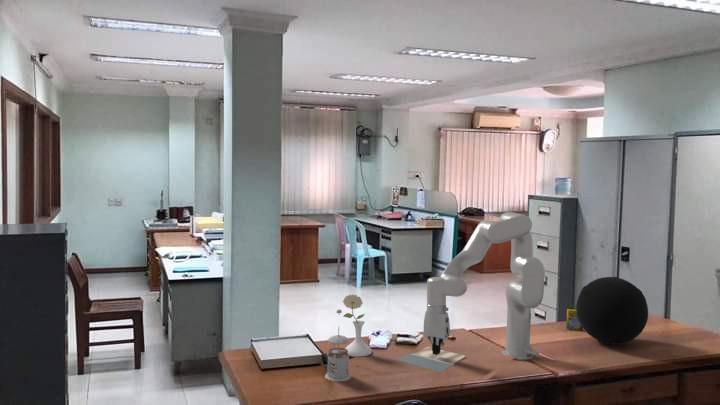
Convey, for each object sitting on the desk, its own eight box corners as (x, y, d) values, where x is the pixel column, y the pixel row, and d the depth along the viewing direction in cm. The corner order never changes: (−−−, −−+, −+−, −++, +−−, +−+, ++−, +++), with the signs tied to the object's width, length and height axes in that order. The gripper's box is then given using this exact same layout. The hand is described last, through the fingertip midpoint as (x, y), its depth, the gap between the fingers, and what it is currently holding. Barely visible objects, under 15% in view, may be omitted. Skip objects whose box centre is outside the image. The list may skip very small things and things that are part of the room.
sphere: (659, 354, 244) (663, 284, 242) (589, 353, 244) (592, 283, 242) (628, 334, 273) (631, 272, 271) (565, 333, 274) (568, 270, 272)
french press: (330, 383, 205) (331, 313, 203) (319, 372, 215) (320, 306, 214) (355, 379, 209) (356, 311, 207) (343, 369, 219) (344, 304, 218)
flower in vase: (376, 353, 238) (377, 293, 237) (364, 361, 228) (366, 299, 227) (347, 348, 244) (349, 290, 242) (335, 356, 234) (336, 295, 232)
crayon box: (567, 329, 280) (568, 306, 279) (566, 328, 283) (567, 304, 282) (582, 330, 279) (583, 307, 278) (581, 329, 281) (582, 305, 281)
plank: (465, 358, 231) (465, 355, 231) (452, 366, 224) (452, 363, 224) (427, 349, 243) (427, 346, 243) (414, 356, 235) (414, 353, 235)
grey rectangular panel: (454, 367, 223) (454, 364, 223) (439, 375, 214) (439, 371, 214) (411, 356, 235) (411, 353, 235) (396, 363, 227) (396, 359, 227)
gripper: (457, 309, 227) (457, 355, 228) (425, 304, 237) (425, 347, 238) (447, 313, 221) (447, 360, 223) (415, 307, 231) (415, 352, 232)
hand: (436, 353), depth 230 cm, fingers closed
